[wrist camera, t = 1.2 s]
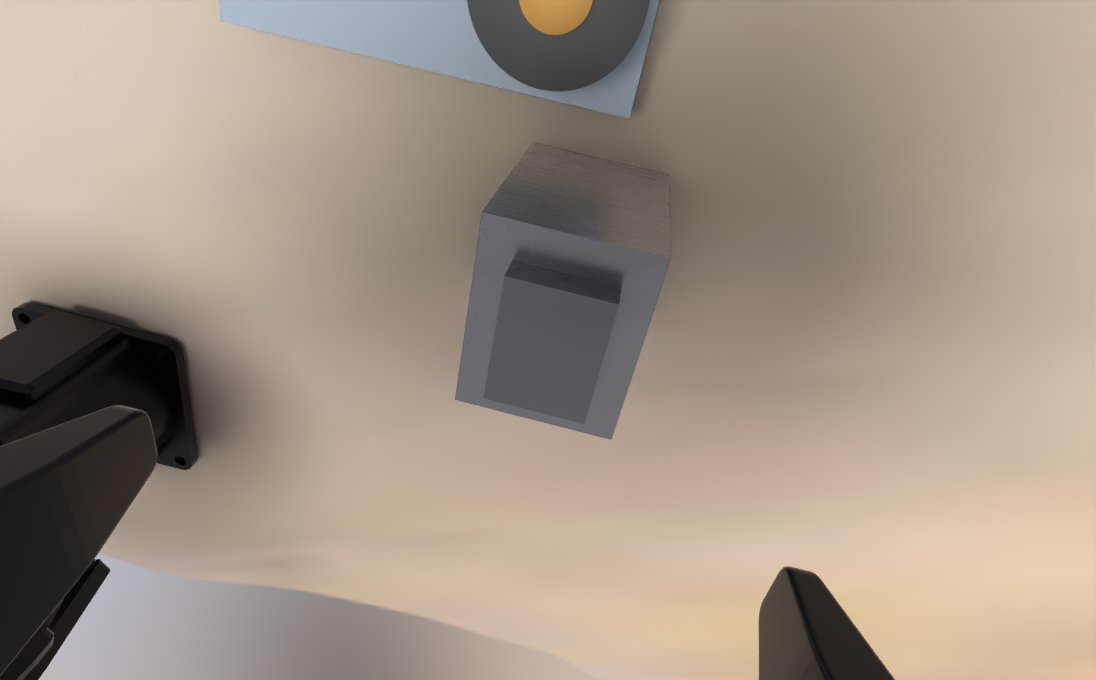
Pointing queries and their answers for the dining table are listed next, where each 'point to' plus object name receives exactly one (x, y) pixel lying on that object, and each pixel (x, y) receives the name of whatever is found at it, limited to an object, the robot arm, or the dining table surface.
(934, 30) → the dining table surface
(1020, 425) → the dining table surface
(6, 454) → the robot arm
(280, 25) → the chassis
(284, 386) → the dining table surface
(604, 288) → the grey block with tab
